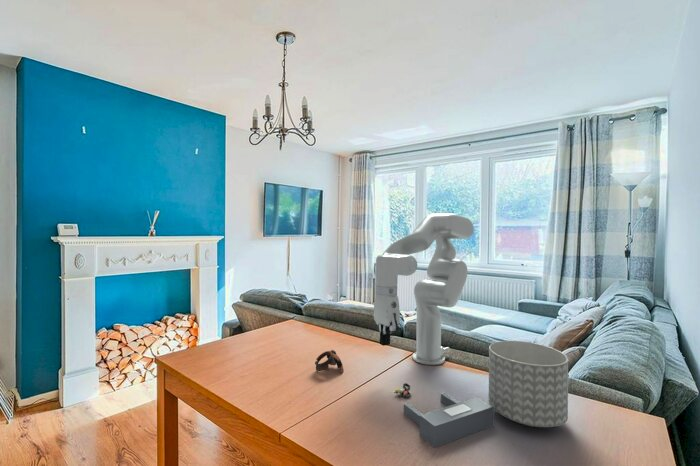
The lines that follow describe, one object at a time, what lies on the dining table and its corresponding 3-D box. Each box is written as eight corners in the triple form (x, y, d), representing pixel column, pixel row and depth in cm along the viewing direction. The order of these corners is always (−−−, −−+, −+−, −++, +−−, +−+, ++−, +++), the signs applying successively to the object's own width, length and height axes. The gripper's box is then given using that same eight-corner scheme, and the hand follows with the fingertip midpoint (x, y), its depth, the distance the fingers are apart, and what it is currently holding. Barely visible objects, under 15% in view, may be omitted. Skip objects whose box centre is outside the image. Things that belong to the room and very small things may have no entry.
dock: (450, 399, 101) (451, 381, 101) (493, 425, 88) (493, 405, 88) (396, 415, 92) (396, 396, 92) (434, 447, 79) (434, 425, 79)
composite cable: (403, 385, 111) (404, 377, 111) (418, 388, 109) (418, 381, 109) (393, 398, 102) (393, 390, 102) (408, 402, 100) (408, 393, 100)
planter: (537, 448, 78) (538, 371, 78) (473, 410, 95) (474, 346, 95) (583, 426, 87) (584, 357, 87) (517, 395, 104) (517, 337, 104)
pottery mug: (344, 379, 116) (333, 360, 115) (321, 388, 118) (309, 370, 116) (347, 357, 128) (337, 340, 126) (325, 366, 129) (315, 349, 128)
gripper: (408, 293, 110) (407, 349, 110) (383, 287, 123) (382, 337, 123) (389, 295, 107) (387, 352, 106) (365, 288, 120) (364, 339, 120)
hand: (384, 344), depth 115 cm, fingers closed
